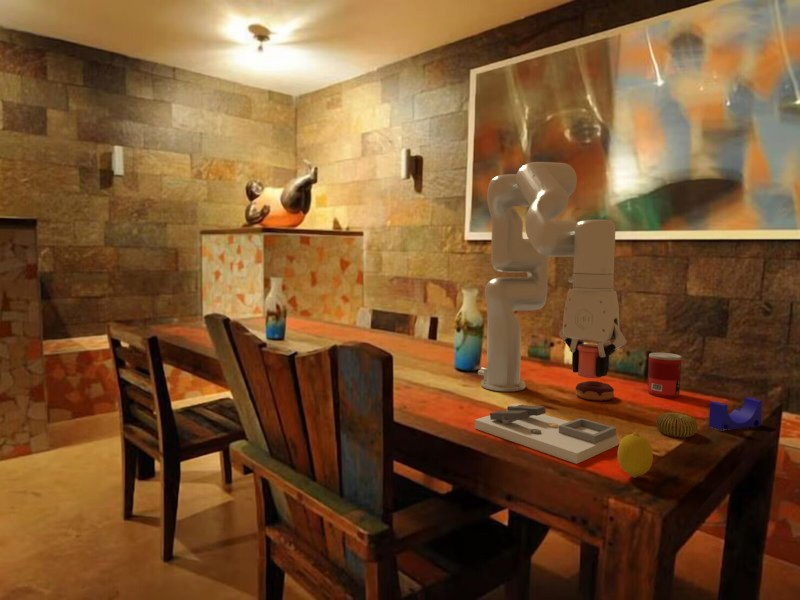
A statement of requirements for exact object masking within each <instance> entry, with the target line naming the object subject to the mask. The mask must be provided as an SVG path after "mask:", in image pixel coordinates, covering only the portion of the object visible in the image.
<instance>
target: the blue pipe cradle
mask: <svg viewBox="0 0 800 600" xmlns="http://www.w3.org/2000/svg"><path fill="white" fill-rule="evenodd" d="M728 408H729V407H728V404H725V403H721V402H719V401H709V416H708V417H709V420H708V427H709V426H710V427H713V428H716V429H719V430H723V428H724V429H727V430H728V429H737V430H742V429H741V428H744V429H750V428H749V427H751V428H757V427H758V428H759V427H762V413H763V411H762V410H763V400H759V399H756V398H753V397H744V401H743V404H742V408H735V409H733V410H732V411H731V413H729V409H728Z"/></svg>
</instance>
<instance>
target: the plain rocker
mask: <svg viewBox="0 0 800 600" xmlns="http://www.w3.org/2000/svg"><path fill="white" fill-rule="evenodd" d="M489 415H490V418H491V420H502V422H503V423H504V424H508V423H511V422H514V421H516V420H522V419H525V418H528V417H529V415H528V411H506V410H497V411H493V412H490V413H489Z"/></svg>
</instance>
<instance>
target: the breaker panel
mask: <svg viewBox="0 0 800 600" xmlns="http://www.w3.org/2000/svg"><path fill="white" fill-rule="evenodd" d="M505 411H508V409H506V410H505ZM474 429H476V430H478V431H481V432H484V433H487V434H490V435H492V436H496V437H499V438H501V439H504V440H506V441H510V442H512V443H515V444H518V445H521V446H524V447H527V448H530V449H532V450H536V451H537V452H541V453H543V454H544V453H545V454H547V455H550V456H553V457H556V458H559V459H561V460H564V461H567V462H570V463H573V464H576V465H578V464H579V463H581V462H584V461H586V460H588V459H591V458H592V457H595V456H596V455H599V454H602V453H604V452H606V451H608V450H610V449H612V448H614V447H617V446H619V434H617V427H615V426H612V425H608V424H603V423H601V422H598V421H597V422H596V421H593V420H590V419H586V418H582V417H579V418H576V419H574V420H570V421H568V420H565V419H561V418H558V417H554V416H550V415H547V414H545V413H544V414H541V415H538V416H535V415H533V416H530V417H528V418H525V419H522V420H516V421H514V422H511V423H508V424H504V423H503V422H502V420H491V418H490V414H489V415H487V416H483V417H480V418H476V419H474Z"/></svg>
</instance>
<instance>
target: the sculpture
mask: <svg viewBox="0 0 800 600" xmlns="http://www.w3.org/2000/svg"><path fill="white" fill-rule="evenodd" d="M655 425H656V427H657V430H658V431H659V432H660V433H662V434H664V435H666V436H670V437H674V438H689V437H693V436H695V434H697V432H698V428H699V427H698V423H697V420H696V419H694V418H693V417H692V416H690V415H688V414H685V413H680V412H672V411H671V412H670V411H669V412H663V413H660V414H659V415H658V416H657V417H656V419H655Z"/></svg>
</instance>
